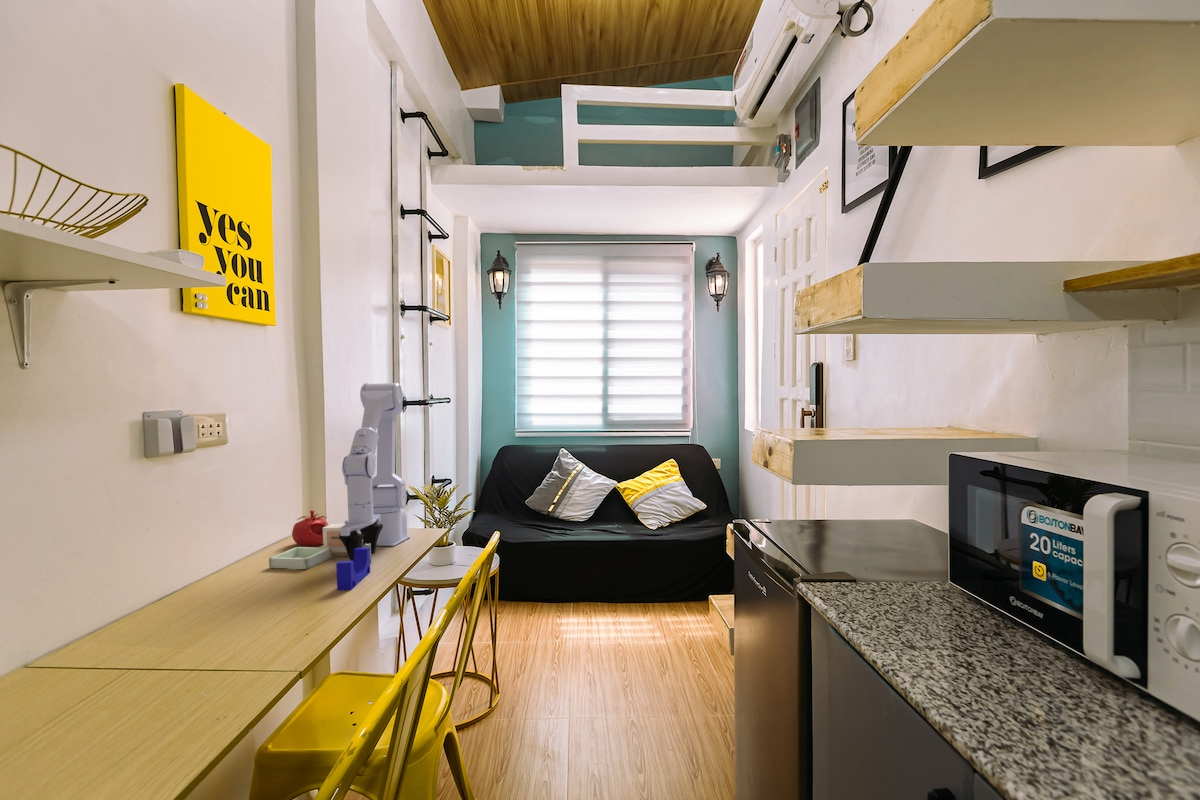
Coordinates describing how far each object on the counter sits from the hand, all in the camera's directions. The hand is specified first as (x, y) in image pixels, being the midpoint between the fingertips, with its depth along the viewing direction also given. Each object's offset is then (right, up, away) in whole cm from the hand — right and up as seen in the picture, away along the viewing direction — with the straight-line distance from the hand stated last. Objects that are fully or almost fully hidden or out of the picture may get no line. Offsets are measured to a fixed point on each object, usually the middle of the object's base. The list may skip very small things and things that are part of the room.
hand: (362, 557), depth 149 cm
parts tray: (-16, -2, +2) cm, 16 cm away
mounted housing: (-8, -1, +10) cm, 13 cm away
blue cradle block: (+2, -2, -13) cm, 13 cm away
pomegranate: (-22, -2, +20) cm, 30 cm away
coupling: (0, -1, 0) cm, 2 cm away
